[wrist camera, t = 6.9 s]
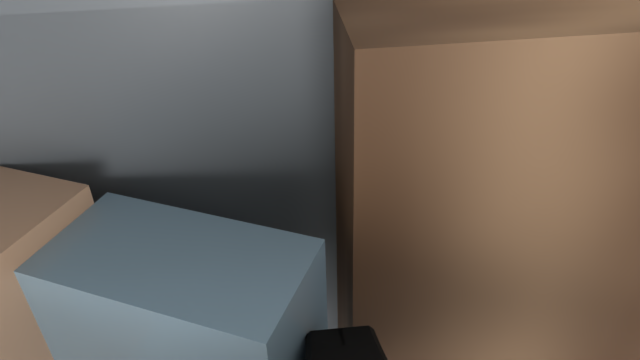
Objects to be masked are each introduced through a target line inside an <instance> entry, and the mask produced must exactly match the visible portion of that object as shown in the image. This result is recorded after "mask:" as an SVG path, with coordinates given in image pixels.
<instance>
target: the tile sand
mask: <svg viewBox="0 0 640 360" xmlns="http://www.w3.org/2000/svg"><path fill="white" fill-rule="evenodd" d="M93 204H94V201H93V197H92V194H91V191H90V188H89V185H86V184H82V183H77V182H72V181H68V180H63V179H58V178H54V177H49V176H44V175H40V174H35V173H30V172H26V171H21V170H16V169H12V168H7V167H2V166H0V360H54V359H53V357H52V354H51V352H50V350H49V348H48V346H47V343H46V341H45V339H44V337H43V335H42V333H41V330H40V328H39V326H38V324H37V322H36V319H35V317H34V315H33V313H32V311H31V308H30V306H29V304H28V302H27V300H26V298H25V295H24V293H23V291H22V289H21V287H20V284H19V282H18V280H17V278H16V276H15V274H14V270H16V269H17V268H18V267H19V266H20V265H22V264H23V263H24V262H25V261H26V260H28V259H29V258H30V257H31V256H32V255H33V254H35V253H36V252H37V251H38V250H39V249H41V248H42V247H43V246H44V245H45V244H47V243H48V242H49V241H50V240H51V239H53V238H54V237H55V236H56V235H57V234H58V233H60V232H61V231H62V230H63V229H64V228H66V227H67V226H68V225H69V224H70V223H72V222H73V221H74V220H75V219H76V218H77V217H79V216H80V215H81V214H82V213H83V212H85V211H86V210H87V209H88V208H89V207H91V206H92V205H93Z"/></svg>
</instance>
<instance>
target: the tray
mask: <svg viewBox="0 0 640 360" xmlns="http://www.w3.org/2000/svg"><path fill="white" fill-rule="evenodd" d="M0 166H2V167H7V168H12V169H16V170H21V171H26V172H30V173H35V174H40V175H44V176H49V177H54V178H58V179H63V180H68V181H72V182H77V183H82V184H86V185H89V188H90V191H91V194H92V197H93V201H94V203H95V202H96V201H98V200H99V199H100V198H101V197H102V196H104V195H105V194H106V193H107V192H109V193H113V194H118V195H122V196H127V197H132V198H136V199H141V200H146V201H150V202H155V203H159V204H164V205H169V206H173V207H178V208H182V209H187V210H192V211H196V212H201V213H206V214H210V215H215V216H219V217H224V218H229V219H233V220H238V221H242V222H247V223H252V224H256V225H261V226H265V227H270V228H275V229H279V230H284V231H289V232H293V233H298V234H302V235H307V236H312V237H316V238H321V239H325V257H326V288H327V318H328V329H335V328H338V311H337V244H336V178H335V111H334V44H333V0H0Z"/></svg>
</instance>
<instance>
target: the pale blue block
mask: <svg viewBox="0 0 640 360" xmlns="http://www.w3.org/2000/svg"><path fill="white" fill-rule="evenodd" d="M14 274H15V276H16V278H17V280H18V282H19V284H20V287H21V289H22V291H23V293H24V295H25V298H26V300H27V302H28V304H29V306H30V308H31V311H32V313H33V315H34V317H35V319H36V322H37V324H38V326H39V328H40V330H41V333H42V335H43V337H44V339H45V341H46V343H47V346H48V348H49V350H50V352H51V354H52V357H53V359H54V360H305V352H306V345H305V337H306V334H307V333H309V332H310V331H313V330H324V329H328V318H327V288H326V257H325V239H321V238H316V237H312V236H307V235H302V234H298V233H293V232H289V231H284V230H279V229H275V228H270V227H265V226H261V225H256V224H252V223H247V222H242V221H238V220H233V219H229V218H224V217H219V216H215V215H210V214H206V213H201V212H196V211H192V210H187V209H182V208H178V207H173V206H169V205H164V204H159V203H155V202H150V201H146V200H141V199H136V198H132V197H127V196H122V195H118V194H113V193H109V192H107V193H106V194H105V195H104V196H102V197H101V198H100V199H99V200H98V201H96V202H95V203H94V204H93V205H92V206H91V207H89V208H88V209H87V210H86V211H85V212H83V213H82V214H81V215H80V216H79V217H77V218H76V219H75V220H74V221H73V222H72V223H70V224H69V225H68V226H67V227H66V228H64V229H63V230H62V231H61V232H60V233H58V234H57V235H56V236H55V237H54V238H53V239H51V240H50V241H49V242H48V243H47V244H45V245H44V246H43V247H42V248H41V249H39V250H38V251H37V252H36V253H35V254H33V255H32V256H31V257H30V258H29V259H28V260H26V261H25V262H24V263H23V264H22V265H20V266H19V267H18V268H17V269H16V270H14Z"/></svg>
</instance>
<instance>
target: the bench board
mask: <svg viewBox="0 0 640 360" xmlns="http://www.w3.org/2000/svg"><path fill="white" fill-rule="evenodd" d="M333 44H334V111H335V178H336V244H337V311H338V328H345V327H356V326H367V325H369V326H370V327H372V328H373V329H374V330H375V333H376V335H377V338H378V340H379V342H380V344H381V347H382V349H383V351H384V353H385V355H386V357H387V359H388V360H640V0H333Z"/></svg>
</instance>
